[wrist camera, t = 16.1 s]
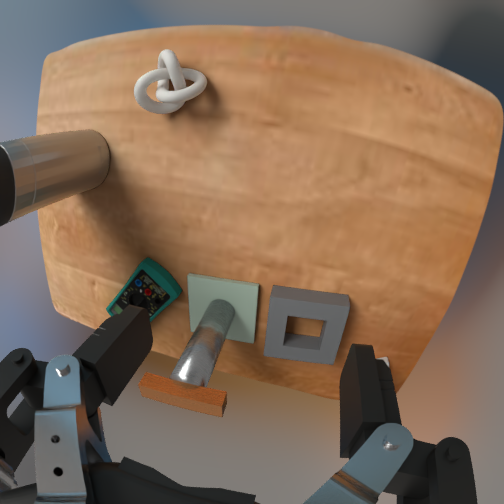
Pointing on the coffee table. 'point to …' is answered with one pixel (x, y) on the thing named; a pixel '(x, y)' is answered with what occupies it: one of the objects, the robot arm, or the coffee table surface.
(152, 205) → the coffee table surface
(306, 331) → the coffee table surface
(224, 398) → the t key
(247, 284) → the pad
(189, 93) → the knot
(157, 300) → the digital multimeter
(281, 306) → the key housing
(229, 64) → the coffee table surface
